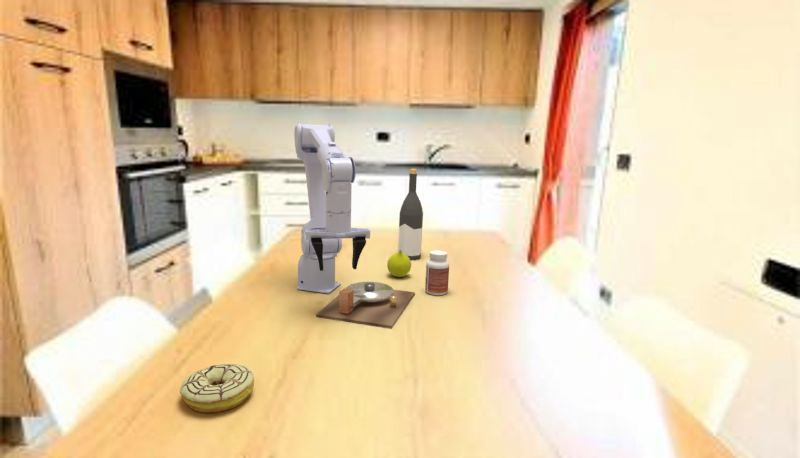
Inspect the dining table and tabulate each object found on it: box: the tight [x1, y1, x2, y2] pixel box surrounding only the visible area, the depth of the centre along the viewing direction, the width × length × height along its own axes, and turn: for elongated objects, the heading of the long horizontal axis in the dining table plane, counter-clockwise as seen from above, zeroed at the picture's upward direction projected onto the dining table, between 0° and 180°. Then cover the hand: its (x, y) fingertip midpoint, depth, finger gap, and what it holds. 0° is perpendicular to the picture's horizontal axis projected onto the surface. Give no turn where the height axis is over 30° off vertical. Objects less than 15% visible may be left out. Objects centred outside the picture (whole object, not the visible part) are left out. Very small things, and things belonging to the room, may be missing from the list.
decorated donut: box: [179, 363, 255, 414], centre depth 71 cm, size 10×11×4 cm
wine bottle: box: [397, 168, 424, 261], centre depth 150 cm, size 8×8×30 cm
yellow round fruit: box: [386, 249, 412, 278], centre depth 132 cm, size 7×7×10 cm
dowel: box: [390, 295, 397, 308], centre depth 108 cm, size 2×2×3 cm
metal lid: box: [338, 281, 394, 314], centre depth 110 cm, size 18×12×5 cm, turn 155°
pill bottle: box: [424, 249, 450, 296], centre depth 120 cm, size 6×6×11 cm
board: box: [315, 289, 416, 329], centre depth 110 cm, size 18×22×2 cm
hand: (337, 268), depth 104 cm, fingers open, 7 cm apart
